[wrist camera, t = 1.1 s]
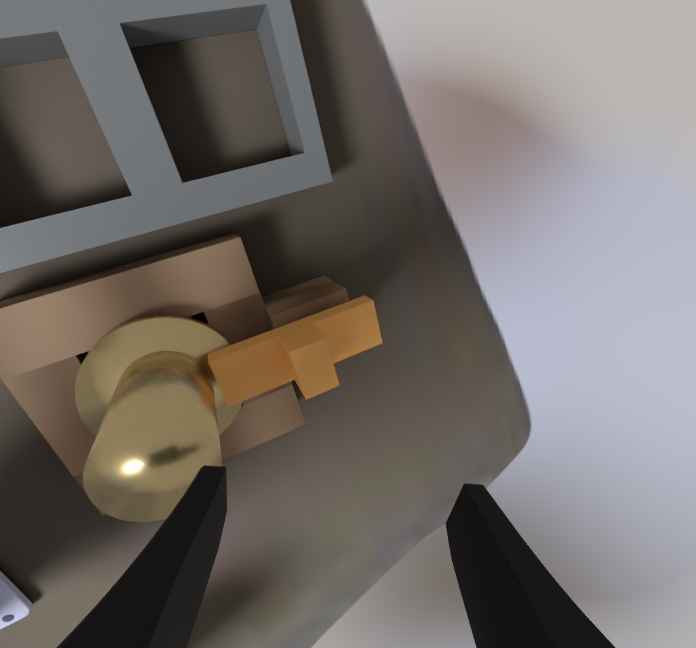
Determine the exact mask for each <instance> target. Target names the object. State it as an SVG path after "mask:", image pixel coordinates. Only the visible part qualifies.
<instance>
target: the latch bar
mask: <svg viewBox="0 0 696 648" xmlns="http://www.w3.org/2000/svg"><path fill="white" fill-rule="evenodd" d="M382 343H383V342H382V338H381V333H380V329H379V324H378V319H377V315H376V310H375V306H374V301H373V300H372V299H370V298H369V297H367V296H365V295H364V296H362V297H359V298H356V299H354V300H351V301H348V302H346V303H343V304H340V305H337V306H335V307H332V308H329V309H327V310H324V311H321V312H319V313H316V314H313V315H311V316H308V317H305V318H303V319H300V320H297V321H295V322H292V323H289V324H286V325H284V326H281V327H278V328H276V329H273V330H270V331H268V332H265V333H262V334H260V335H257V336H254V337H252V338H249V339H246V340H244V341H241V342H238V343H235V344H233V345H230V346H227V347H225V348H222V349H219V350H217V351H214V352H211V353H209V354H208V363H209V365H210V367H211V369H212V372H213V374H214V376H215V378H216V380H217V383H218V385H219V387H220V389H221V391H222V394H223V396H224V398H225V400H226V403H227V405H228V407H230V406H233V405H235V404H238V403H240V402H242V401H245V400H247V399H250V398H252V397H254V396H257V395H259V394H262V393H264V392H266V391H269V390H271V389H274V388H276V387H278V386H281V385H283V384H286V383H288V382H290V381H293V380H295V381H296V383H297V385H298V387H299V388H300V390H301V392H302V394H303V395H304V397H305V399H306V400H307V399H309V398H312V397H314V396H316V395H319V394H321V393H323V392H326V391H328V390H330V389H332V388H335V387H337V386H339V385H340V384H339V381H338V377H337V374H336V371H335V367H334V363H336V362H338V361H341V360H343V359H346V358H348V357H350V356H353V355H355V354H358V353H360V352H362V351H365V350H367V349H370V348H372V347H374V346H377V345H379V344H382Z"/></svg>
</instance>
